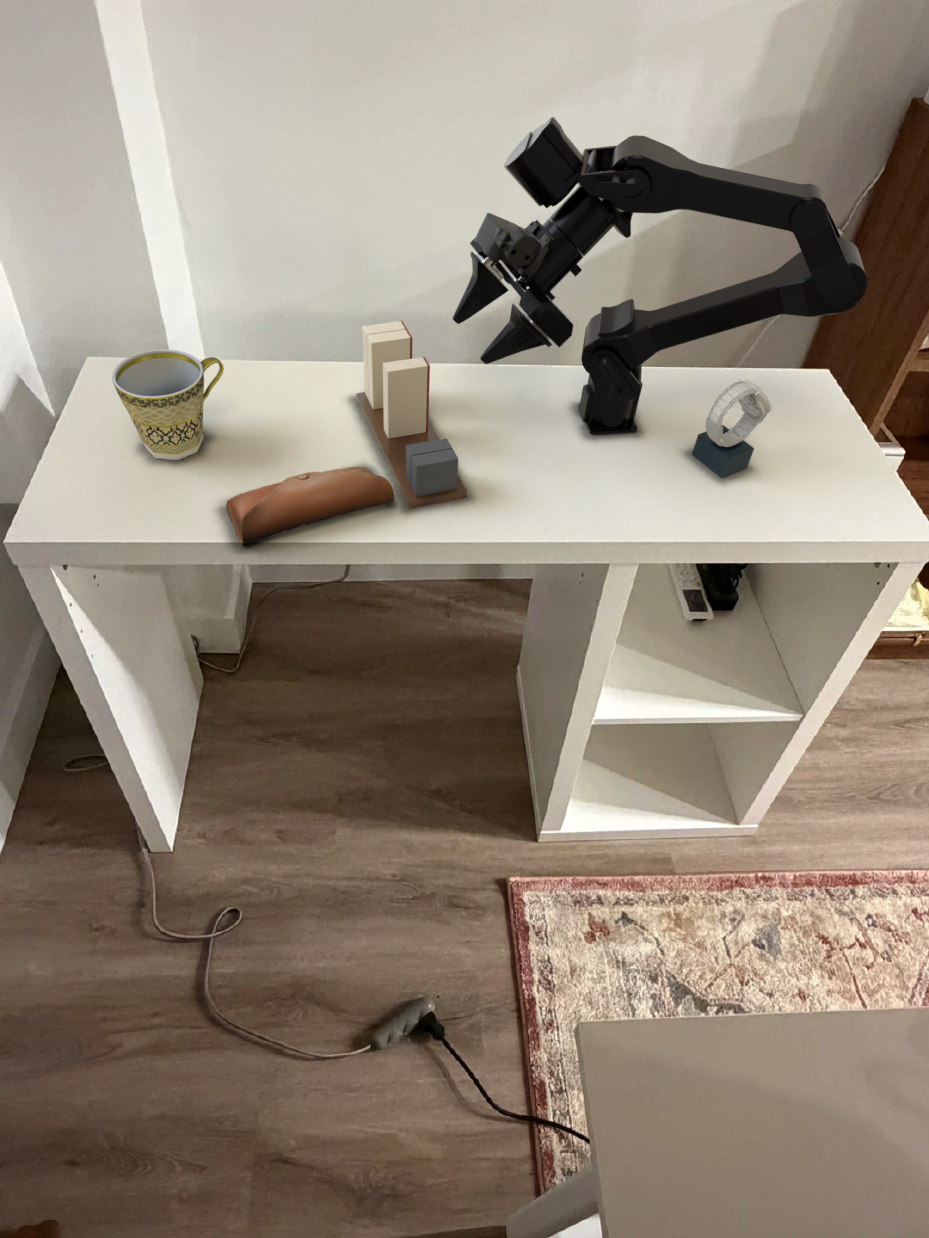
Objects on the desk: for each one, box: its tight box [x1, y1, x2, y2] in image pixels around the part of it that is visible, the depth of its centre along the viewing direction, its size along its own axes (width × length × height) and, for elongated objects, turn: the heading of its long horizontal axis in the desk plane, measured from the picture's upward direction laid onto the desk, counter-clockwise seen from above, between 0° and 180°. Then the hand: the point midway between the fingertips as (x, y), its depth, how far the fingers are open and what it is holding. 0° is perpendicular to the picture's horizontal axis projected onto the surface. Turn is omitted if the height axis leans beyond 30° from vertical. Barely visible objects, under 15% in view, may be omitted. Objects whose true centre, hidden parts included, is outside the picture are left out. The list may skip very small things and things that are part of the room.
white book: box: [383, 356, 431, 439], centre depth 105 cm, size 5×2×10 cm, turn 110°
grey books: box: [406, 437, 459, 497], centre depth 100 cm, size 5×4×4 cm
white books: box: [361, 320, 413, 409], centre depth 109 cm, size 5×4×10 cm
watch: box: [691, 379, 772, 479], centre depth 105 cm, size 6×8×11 cm
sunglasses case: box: [225, 466, 395, 546], centre depth 98 cm, size 18×7×7 cm, turn 117°
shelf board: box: [355, 391, 468, 509], centre depth 107 cm, size 7×23×1 cm, turn 20°
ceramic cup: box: [111, 348, 224, 461], centre depth 102 cm, size 13×10×10 cm
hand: (468, 341), depth 102 cm, fingers open, 9 cm apart
